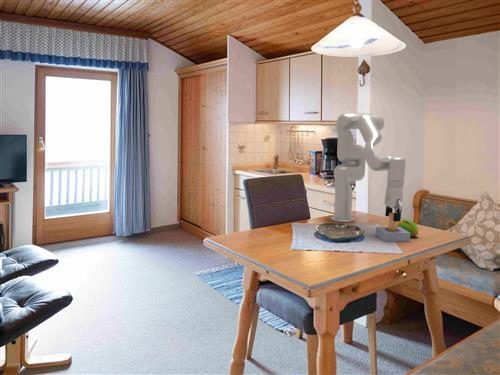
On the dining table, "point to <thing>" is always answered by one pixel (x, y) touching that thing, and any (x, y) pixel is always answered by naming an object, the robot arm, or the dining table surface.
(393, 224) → the peg
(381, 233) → the socket block
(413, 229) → the corn
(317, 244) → the dining table surface
